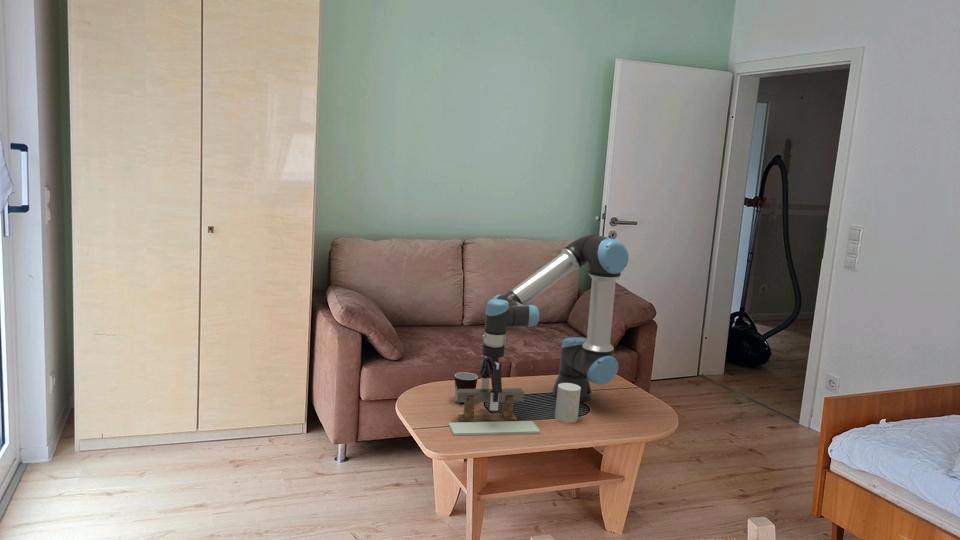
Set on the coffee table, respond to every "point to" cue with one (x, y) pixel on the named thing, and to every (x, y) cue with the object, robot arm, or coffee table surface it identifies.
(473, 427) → the mat
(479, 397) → the rail
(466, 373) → the coffee mug
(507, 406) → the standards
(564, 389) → the light grey cylinder plug
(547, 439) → the coffee table surface
